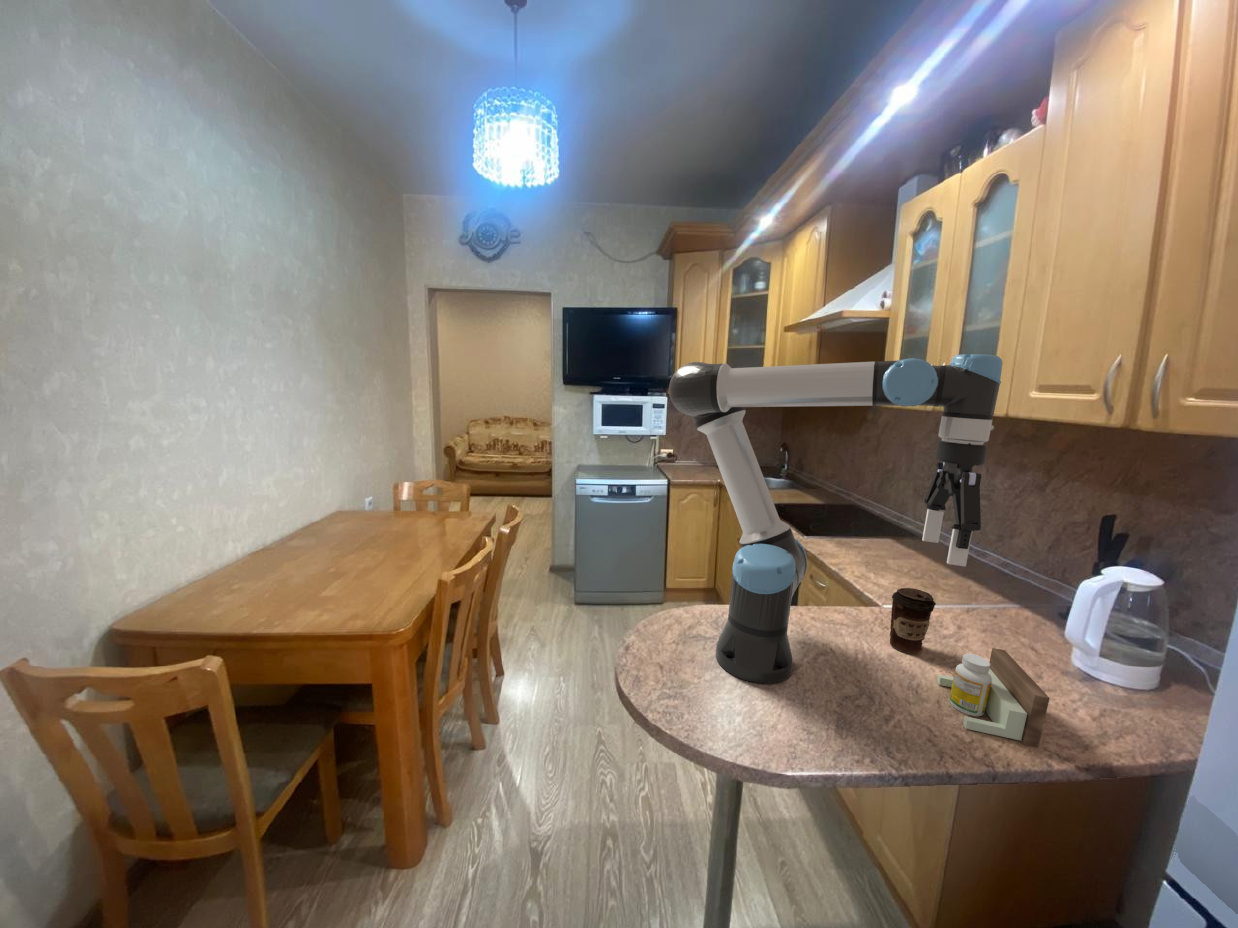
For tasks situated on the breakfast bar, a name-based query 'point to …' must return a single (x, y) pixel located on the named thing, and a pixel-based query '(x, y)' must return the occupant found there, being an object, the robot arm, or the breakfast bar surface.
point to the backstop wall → (1022, 694)
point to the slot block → (996, 711)
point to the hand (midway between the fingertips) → (942, 552)
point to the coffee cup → (910, 619)
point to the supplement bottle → (971, 685)
